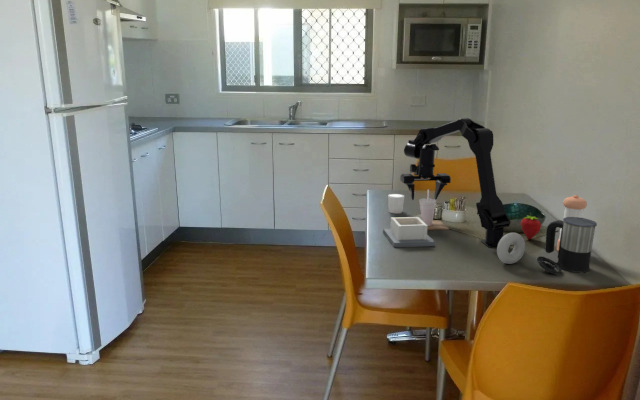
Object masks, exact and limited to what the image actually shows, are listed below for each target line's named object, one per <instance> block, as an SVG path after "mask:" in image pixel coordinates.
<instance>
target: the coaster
mask: <svg viewBox="0 0 640 400" xmlns="http://www.w3.org/2000/svg"><path fill="white" fill-rule="evenodd" d="M442 230H443V231H446V230H448V231H449V230H450V228H449V227H448V226H446V225H445V224H444V223H443V222H442V221H441V220H439V219H437V220H436V219H435V220H434V219H433V222H432V225H431V226H427V231H442Z"/></svg>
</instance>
